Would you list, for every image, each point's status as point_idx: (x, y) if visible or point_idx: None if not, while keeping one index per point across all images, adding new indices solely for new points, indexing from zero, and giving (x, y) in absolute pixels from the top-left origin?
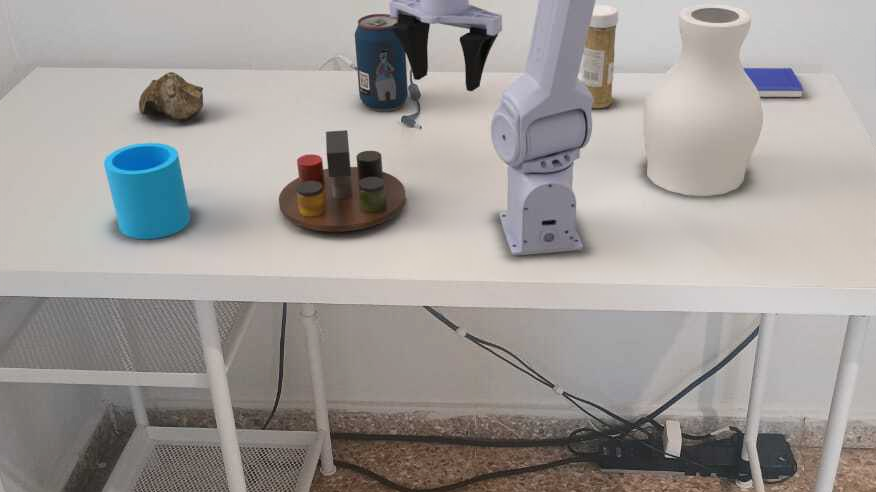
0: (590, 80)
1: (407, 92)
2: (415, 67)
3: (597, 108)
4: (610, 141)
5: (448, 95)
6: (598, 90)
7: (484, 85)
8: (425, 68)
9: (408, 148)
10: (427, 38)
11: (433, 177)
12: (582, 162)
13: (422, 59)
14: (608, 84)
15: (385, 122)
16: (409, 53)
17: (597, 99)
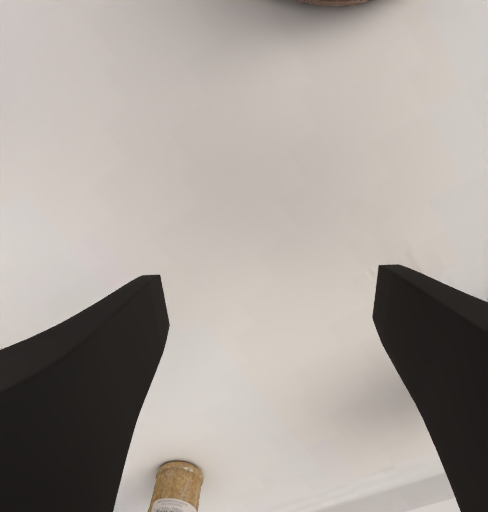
0: (168, 508)
1: None
2: (407, 280)
3: (167, 463)
4: None
5: (404, 414)
6: (159, 493)
7: (365, 459)
8: (383, 327)
9: (367, 210)
10: (441, 456)
11: (242, 121)
12: (59, 320)
13: (406, 343)
14: (148, 509)
15: (470, 283)
16: (475, 309)
17: (163, 477)
